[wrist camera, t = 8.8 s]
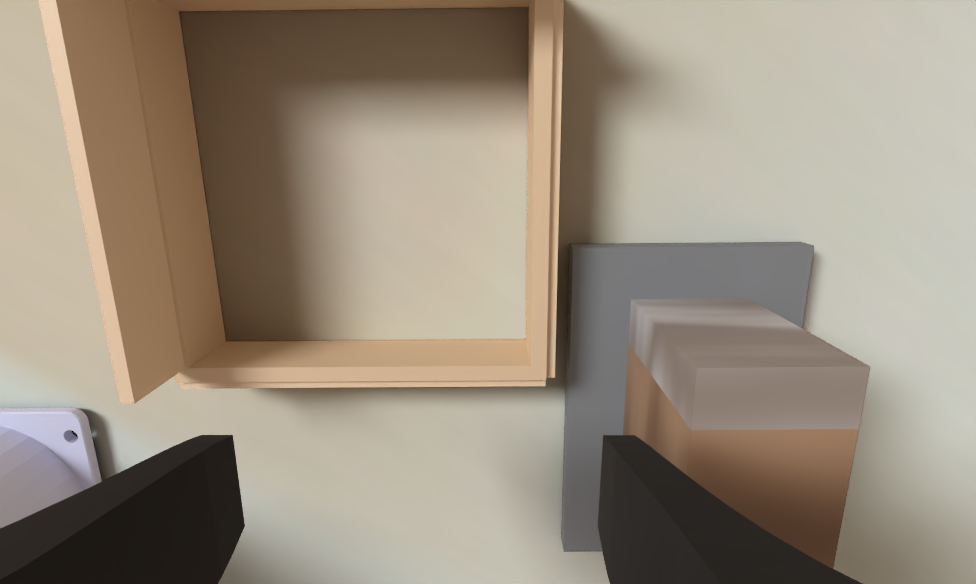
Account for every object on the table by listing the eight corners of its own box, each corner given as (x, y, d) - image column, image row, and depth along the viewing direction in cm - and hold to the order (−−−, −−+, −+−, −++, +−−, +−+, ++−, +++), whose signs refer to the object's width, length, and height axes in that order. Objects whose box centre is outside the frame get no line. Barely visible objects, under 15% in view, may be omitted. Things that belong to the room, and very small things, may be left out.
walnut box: (724, 501, 20) (819, 643, 14) (618, 502, 20) (670, 643, 14) (748, 298, 18) (870, 366, 12) (631, 299, 18) (696, 368, 12)
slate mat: (759, 536, 21) (769, 550, 21) (561, 537, 21) (564, 551, 21) (800, 241, 18) (814, 245, 18) (569, 244, 18) (573, 247, 18)
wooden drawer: (547, 359, 20) (565, 427, 15) (215, 362, 20) (125, 430, 15) (555, -12, 16) (581, -81, 12) (160, -7, 17) (23, -73, 12)
